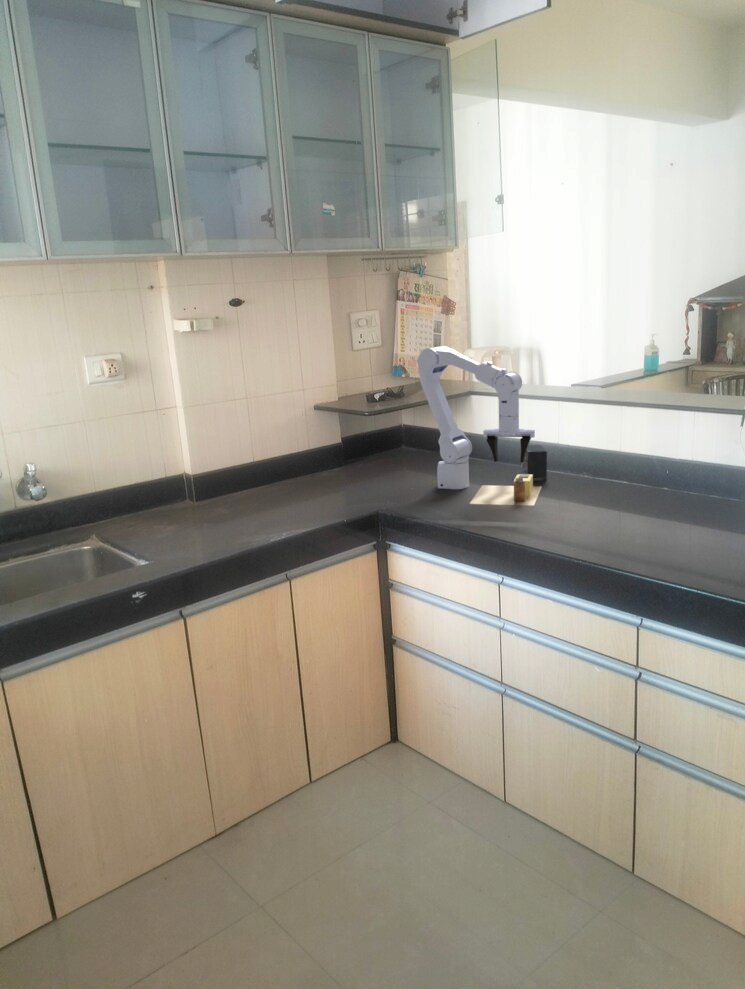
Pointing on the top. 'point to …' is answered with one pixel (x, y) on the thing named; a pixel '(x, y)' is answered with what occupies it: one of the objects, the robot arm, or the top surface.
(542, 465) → the small box
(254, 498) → the top surface
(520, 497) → the brown jar
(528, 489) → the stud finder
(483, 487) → the plywood panel
